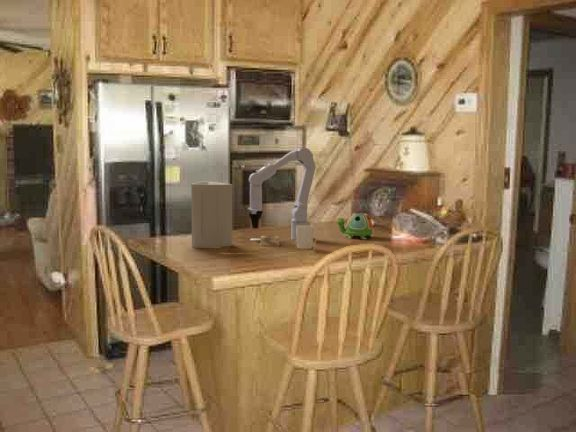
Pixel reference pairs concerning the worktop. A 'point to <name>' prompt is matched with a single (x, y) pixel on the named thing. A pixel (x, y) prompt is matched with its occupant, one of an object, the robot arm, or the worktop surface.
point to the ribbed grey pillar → (211, 214)
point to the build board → (259, 240)
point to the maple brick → (269, 240)
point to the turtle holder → (357, 226)
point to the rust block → (255, 228)
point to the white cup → (304, 236)
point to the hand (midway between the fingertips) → (255, 227)
